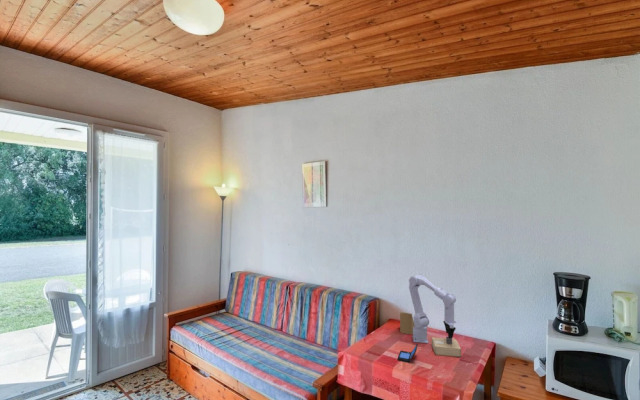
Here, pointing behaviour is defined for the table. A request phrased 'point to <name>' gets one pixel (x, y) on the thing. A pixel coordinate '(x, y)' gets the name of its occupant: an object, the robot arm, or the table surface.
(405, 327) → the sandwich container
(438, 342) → the carton lid
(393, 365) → the table surface
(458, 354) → the carton
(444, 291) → the robot arm
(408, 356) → the handheld game console
